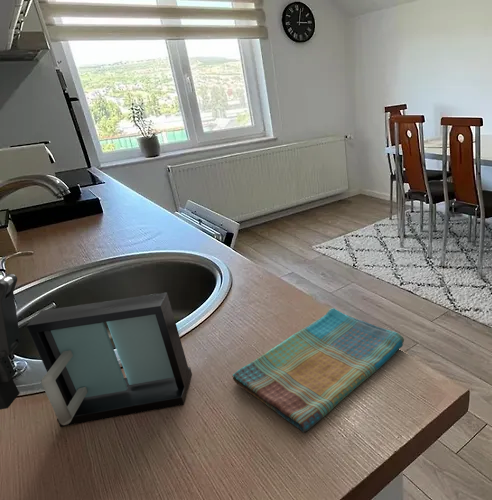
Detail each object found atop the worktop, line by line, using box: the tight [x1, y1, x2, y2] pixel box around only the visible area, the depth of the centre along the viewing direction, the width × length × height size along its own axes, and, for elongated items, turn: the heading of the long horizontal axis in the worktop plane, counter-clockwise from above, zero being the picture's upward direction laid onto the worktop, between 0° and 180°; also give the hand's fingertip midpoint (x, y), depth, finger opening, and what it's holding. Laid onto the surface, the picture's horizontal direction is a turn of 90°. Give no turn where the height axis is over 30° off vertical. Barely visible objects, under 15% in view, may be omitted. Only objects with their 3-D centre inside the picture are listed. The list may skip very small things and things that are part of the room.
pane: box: [40, 322, 128, 425], centre depth 57 cm, size 7×8×12 cm
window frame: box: [25, 292, 193, 428], centre depth 60 cm, size 17×7×16 cm, turn 100°
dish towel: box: [232, 307, 405, 433], centre depth 67 cm, size 17×23×2 cm
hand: (7, 401), depth 53 cm, fingers closed
